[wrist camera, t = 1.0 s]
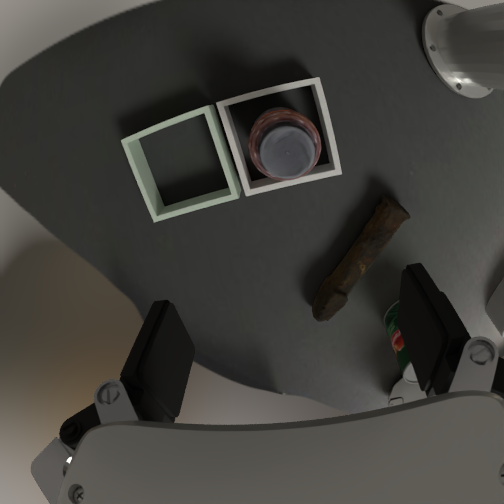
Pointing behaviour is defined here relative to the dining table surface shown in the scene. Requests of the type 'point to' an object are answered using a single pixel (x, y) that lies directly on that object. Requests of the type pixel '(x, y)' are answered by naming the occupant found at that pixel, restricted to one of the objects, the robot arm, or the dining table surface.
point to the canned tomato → (399, 344)
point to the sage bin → (148, 183)
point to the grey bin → (269, 183)
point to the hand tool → (359, 258)
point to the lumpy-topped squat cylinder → (497, 308)
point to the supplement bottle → (284, 144)
